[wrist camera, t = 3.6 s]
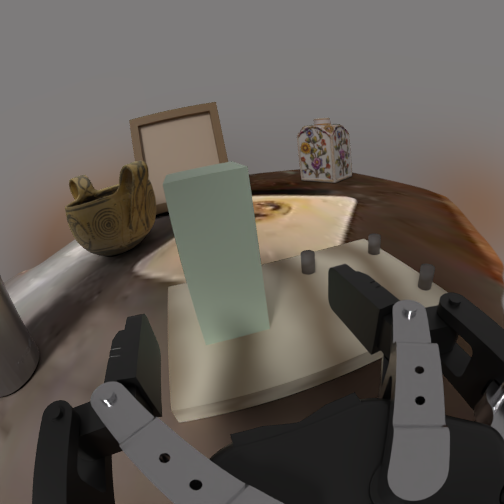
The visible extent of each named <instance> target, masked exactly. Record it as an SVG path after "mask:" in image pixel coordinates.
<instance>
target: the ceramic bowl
mask: <svg viewBox="0 0 504 504" xmlns="http://www.w3.org/2000/svg"><path fill="white" fill-rule="evenodd" d="M148 176H149V173H148V166H147V164H146V163H145V162H144V161H141V160H140V161H135V162H133V163H130V164H127V165H125V166H123V167H122V169H121V172H120V177H119V184H118V185H114V186H111V187H108V188H104V189H102V190H95V189H94V187H93V186H92V184H91V182H90V180H89V179H88V177H87V176H86V175H82V176H78V177H75V178H72V179H71V180H70V181H69V187H70V191H71V193H72V195H73V197H74V199H75V201H73V202H71V203H70V204H68V205H67V206H65V210H66V216H67V221H68V224H69V227H70V230H71V232H72V234H73V236H74V237H75V239H76V241H77V242H78V243H79V244H80V245H81V246H82V247H83V248H84V249H86V250H87V251H89V252H91V253H94V254H97V255H104V256H112V255H117V254H121V253H124V252H126V251H128V250H130V249H132V248H133V247H135V246H136V245H137V244H139V243H140V242H141V241H142V240H143V239H144V238H145V237H146V235H147V234H148V233H149V231H150V230H151V228H152V227H153V224H154V222H155V217H156V199H155V194H154V190H153V187H152V184H151V182H150V180H149V179H148Z"/></svg>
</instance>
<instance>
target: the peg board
mask: <svg viewBox="0 0 504 504" xmlns="http://www.w3.org/2000/svg"><path fill="white" fill-rule="evenodd" d="M380 241H381V236H380V235H379V234H370V235H369V240H368V241H367V240H365V239H361V240H357V241H354V242H350V243H346V244H342V245H338V246H334V247H330V248H327V249H323V250H319V251H315V252H314V251H311V250H306V251H303V252H301V255H299V256H295V257H291V258H287V259H283V260H279V261H275V262H271V263H267V264H263V265H261V267H262V274H263V281H264V289H265V296H266V303H267V311H268V318H269V326H270V329H267V330H263V331H260V332H256V333H253V334H249V335H245V336H241V337H238V338H234V339H230V340H226V341H222V342H218V343H214V344H209V345H206V343H205V340H204V337H203V334H202V331H201V328H200V325H199V322H198V319H197V315H196V312H195V309H194V305H193V302H192V299H191V295H190V292H189V288H188V285H187V283H184V284H179V285H175V286H171V287H168V361H169V383H170V399H171V411H172V413H173V414H174V416H175V417H176V419H177V420H178V422H179V423H180V422H186V421H191V420H197V419H202V418H207V417H211V416H216V415H221V414H225V413H229V412H233V411H237V410H241V409H245V408H249V407H252V406H256V405H260V404H263V403H266V402H270V401H273V400H276V399H280V398H283V397H286V396H289V395H292V394H295V393H298V392H301V391H303V390H306V389H309V388H312V387H314V386H317V385H320V384H322V383H325V382H327V381H330V380H332V379H335V378H337V377H340V376H342V375H344V374H347V373H349V372H351V371H354V370H356V369H358V368H360V367H363V366H365V365H367V364H369V363H371V362H373V361H375V360H378V359H380V358H382V356H383V353H382V351H379V352H377V353H375V354H373V355H371V354H370V353H369V352H368V351H367V350H366V348H365V347H364V346H363V345H362V344H361V343H360V341H359V340H358V339H357V338H356V337H355V336H354V334H353V333H352V332H351V331H350V330H349V329H348V328H347V326H346V325H345V324H344V323H343V322H342V321H341V320H340V318H339V317H338V316H337V315H336V314H335V313H334V312H333V310H332V309H331V307H330V304H329V301H328V271H329V269H330V268H331V267H335V266H338V265H342V264H347V265H348V266H350V267H351V268H352V269H353V270H355V271H359V272H362V273H364V274H367V275H369V276H370V277H371V278H373V279H374V280H375V282H378V283H379V284H380V285H381V286H383V287H384V288H385V289H387V290H388V291H389V292H390V293H392V294H393V295H394V296H395V297H396V298H398V299H399V300H400V301H401V300H413V301H417V302H419V303H420V304H422V305H423V306H424V307H425V308H426V307H431V306H437V305H438V304H439V300H440V297H441V296H442V295H443V294H445V293H448V292H446V291H445V290H443V289H442V288H441V287H439V286H438V285H436V284H435V283H433V282H432V281H433V276H434V271H435V267H434V266H433V265H431V264H422V265H421V269H420V273H418V272H417V271H415V270H414V269H412V268H410V267H409V266H407V265H406V264H404V263H403V262H401V261H400V260H398V259H396V258H395V257H393V256H392V255H390V254H388V253H387V252H385V251H383V250H382V249H380Z"/></svg>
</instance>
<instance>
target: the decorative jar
mask: <svg viewBox="0 0 504 504" xmlns="http://www.w3.org/2000/svg"><path fill="white" fill-rule="evenodd" d="M297 141H298V152H299V162H300V163H299V164H300V172H301V180H302V181H314V182H327V183H337V182H339V181H342V180H345V179H347V178H349V177H351V176H352V163H351V149H350V140H349V133H348V131H347V130H346V129H345V128H344V127H343V126H342V125H340V124H333V125H331V122H330V119H329V118H319V119H314V125H309V126H304V127H303V128H302V129H301V131H300V132H299V133H298V135H297Z"/></svg>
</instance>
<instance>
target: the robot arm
mask: <svg viewBox="0 0 504 504" xmlns="http://www.w3.org/2000/svg"><path fill="white" fill-rule="evenodd" d="M328 301H329V304H330V307H331V309H332V310H333V312H334V313H335V314H336V315H337V316H338V317H339V318H340V320H341V321H342V322H343V323H344V324H345V325H346V326H347V328H348V329H349V330H350V331H351V332H352V333H353V334H354V336H355V337H356V338H357V339H358V340H359V341H360V343H361V344H362V345H363V346H364V347H365V348H366V350H367V351H368V352H369V353H370V354H371V355H373V354H375V353H377V352H379V351H382V353H383V356H382V364H381V376H380V386H379V394H378V398H367V399H359V398H358V397H357V395H356V394H355V392H354V393H352V394H350V395H348V396H345V397H343V398H341V399H338V400H336V401H334V402H331V403H329V404H326V405H325V406H324V407H322V408H321V409H319V410H318V411H316V412H315V413H313V414H312V415H310V416H309V417H307V418H305V419H304V420H302V421H300V422H298V423H291V424H282V425H271V426H262V427H258V428H254V429H251V430H247V431H243V432H239V433H235V434H230V435H231V439H232V442H233V443H231V444H229V445H227V446H225V447H224V448H222V449H220V450H219V451H218V452H217V453H215V454H214V455H213V456H212V457H211V458H210V459H208V458H206V457H205V456H204V455H202V454H201V453H200V452H198V451H197V450H196V449H195V448H193V447H192V446H191V445H190V444H188V443H187V442H186V441H185V440H183V439H182V438H181V437H180V436H179V435H177V434H176V433H175V432H174V431H173V430H172V429H170V428H169V427H168V426H167V425H166V424H165V423H164V422H163V421H161V420H160V419H159V418H158V417H162V404H161V355H160V349H159V345H158V342H157V340H156V337H155V335H154V333H153V331H152V328H151V326H150V323H149V321H148V319H147V317H146V315H145V314H140V315H135V316H130V317H127V320H126V325H125V330H121V331H119V332H118V333H117V334H116V336H115V337H114V339H113V341H112V346H111V350H110V355H109V357H110V358H109V360H108V365H107V370H106V375H105V381H104V384H102V385H100V386H98V387H97V388H96V389H95V390H94V392H93V393H92V396H91V401H90V402H88V403H85V404H82V405H80V406H77V407H74V408H72V407H71V405H70V404H69V403H68V402H66V401H63V400H59V401H55V402H53V403H51V404H50V405H49V406H48V407H47V408H46V409H45V411H44V413H43V416H42V421H41V426H40V432H39V438H38V444H37V451H36V458H35V467H34V478H33V496H32V504H115V500H114V489H113V476H112V454H115V453H118V452H120V451H124V453H125V454H126V455H127V456H128V457H129V458H130V460H131V461H132V462H133V463H134V464H135V465H136V466H137V467H138V468H139V470H140V471H141V472H142V473H143V474H144V475H145V476H146V477H147V478H148V479H149V480H150V481H151V482H152V483H153V484H154V485H155V486H156V487H157V488H158V489H159V490H160V491H161V492H162V493H163V494H164V495H165V496H166V497H167V498H169V499H170V500H171V501H172V502H173V503H174V504H504V329H503V328H502V327H500V326H499V325H498V324H497V323H496V322H495V321H493V320H492V319H491V318H490V317H489V316H487V315H486V314H485V313H484V312H482V311H481V310H480V309H479V308H477V307H476V306H475V305H474V304H472V303H471V302H470V301H469V300H467V299H466V298H465V297H463V296H462V295H460V294H457V293H445V294H443V295H442V296H441V297H440V300H439V304H438V305H437V306H431V307H426V308H425V307H424V306H423V305H422V304H420V303H419V302H417V301H413V300H401V301H400V300H399V299H398V298H396V297H395V296H394V295H393V294H392V293H390V292H389V291H388V290H387V289H385V288H384V287H383V286H381V285H380V284H379V283H378V282H375V280H374V279H373V278H371V277H370V276H369V275H367V274H364V273H362V272H359V271H355V270H353V269H352V268H351V267H350V266H348V265H347V264H342V265H338V266H335V267H331V268H330V269H329V271H328ZM458 335H460V336H461V337H462V338H463V339H464V340H465V341H466V342H468V343H469V344H470V346H471V347H472V351H473V354H472V357H470V356H469V355H468V354H467V353H466V352H465V351H464V350H463V349H462V348H461V347H460V346H459V345H458V344H457V343H456V340H457V338H458ZM39 355H40V354H39V349H38V347H37V345H36V344H35V342H34V340H33V339H32V337H31V335H30V334H29V332H28V330H27V329H26V327H25V325H24V323H23V321H22V320H21V318H20V316H19V314H18V312H17V310H16V308H15V306H14V304H13V302H12V300H11V298H10V296H9V294H8V292H7V290H6V287H5V285H4V283H3V281H2V279H1V276H0V397H2V396H6V395H9V394H11V393H13V392H14V391H16V390H18V389H19V388H20V387H21V386H22V385H24V384H25V382H26V381H27V380H28V379H29V378H30V377H31V375H32V374H33V372H34V370H35V368H36V366H37V364H38V361H39ZM442 374H443V375H444V376H445V377H446V378H447V379H448V381H449V382H450V383H451V384H452V385H453V386H454V388H455V389H456V390H457V391H458V392H459V393H460V395H461V396H462V397H463V398H464V399H465V401H466V402H467V403H468V404H469V405H470V407H471V408H472V409H473V410H474V416H475V420H474V421H469V420H464V419H459V418H455V417H451V416H446V415H445V406H444V390H443V379H442Z"/></svg>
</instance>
